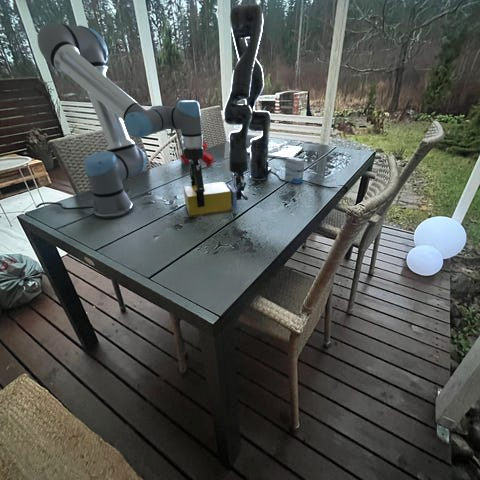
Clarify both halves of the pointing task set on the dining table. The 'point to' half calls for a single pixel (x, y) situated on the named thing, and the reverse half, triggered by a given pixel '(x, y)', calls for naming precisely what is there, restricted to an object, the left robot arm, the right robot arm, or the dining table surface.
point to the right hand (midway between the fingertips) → (238, 198)
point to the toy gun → (207, 158)
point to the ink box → (294, 170)
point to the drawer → (233, 196)
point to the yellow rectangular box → (208, 199)
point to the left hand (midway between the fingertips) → (198, 200)
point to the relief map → (281, 150)
